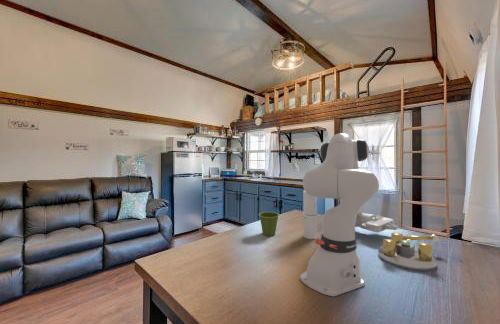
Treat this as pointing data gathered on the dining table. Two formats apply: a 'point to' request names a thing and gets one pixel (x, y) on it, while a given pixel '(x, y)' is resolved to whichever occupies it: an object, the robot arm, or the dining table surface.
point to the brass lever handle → (411, 238)
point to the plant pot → (268, 222)
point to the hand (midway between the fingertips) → (397, 228)
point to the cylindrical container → (309, 216)
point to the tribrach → (408, 255)
